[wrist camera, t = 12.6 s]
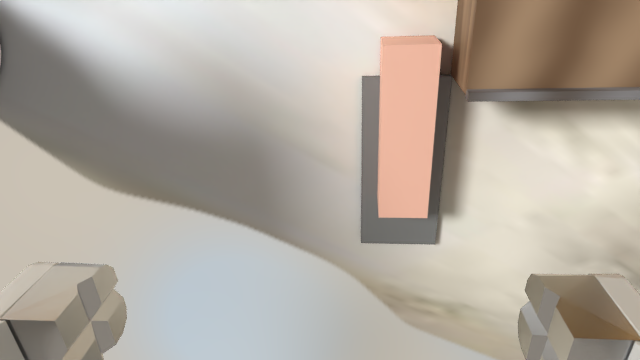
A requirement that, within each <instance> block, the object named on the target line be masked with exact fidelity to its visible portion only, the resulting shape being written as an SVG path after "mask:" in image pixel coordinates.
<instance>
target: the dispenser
mask: <svg viewBox="0 0 640 360" xmlns="http://www.w3.org/2000/svg"><path fill="white" fill-rule="evenodd" d="M451 76H452V77H453V78H454V80H455V81H456V82H457V84H458V85H459V87H460V88H461V89H462V91H463V92H464V93H465V95H466V99H467V101H468V102H470V101H561V100H640V0H458V6H457V16H456V26H455V36H454V46H453V57H452V67H451Z"/></svg>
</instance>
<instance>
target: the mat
mask: <svg viewBox="0 0 640 360" xmlns="http://www.w3.org/2000/svg"><path fill="white" fill-rule="evenodd" d="M451 82H452V76H451V75H439V86H438V98H437V109H436V121H435V133H434V145H433V157H432V168H431V180H430V192H429V204H428V216H427V218H379V215H378V199H377V191H378V146H379V101H380V76H362V189H361V243H390V244H435V241H436V231H437V221H438V211H439V201H440V191H441V181H442V171H443V161H444V152H445V142H446V132H447V122H448V112H449V102H450V92H451Z"/></svg>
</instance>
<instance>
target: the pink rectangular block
mask: <svg viewBox="0 0 640 360" xmlns="http://www.w3.org/2000/svg"><path fill="white" fill-rule="evenodd" d="M441 50H442V43H441V42H440V41H439V40H438V39H437V38H436V37H435V35H433V36H398V37H381V55H380V101H379V146H378V191H377V199H378V215H379V218H427V216H428V204H429V192H430V180H431V168H432V157H433V145H434V133H435V121H436V109H437V98H438V86H439V74H440V62H441Z"/></svg>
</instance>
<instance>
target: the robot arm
mask: <svg viewBox="0 0 640 360" xmlns="http://www.w3.org/2000/svg"><path fill="white" fill-rule="evenodd" d="M0 66H1V46H0ZM117 282H118V279H117V277H116V274H115V271H114V268H113V267H111V266H109V265H106V264H105V265H104V264H83V263H54V262H37V263H33V264H30V265H28V267H26V268H25V269H24V270H23V271H22V272H21V273H20V274H19V275H18V276H17V277H16V278H14V279H13V280H12V281H11V282H10V283H9V284H8V285H7V286H6V287H5V288H4V289H3V290H2V291H1V292H0V360H104V358H103V353H104V352H106V351H107V350H109V349H110V348H112V347H113V346H115V345H116V344H117V342H118V340H119V338H120V337H121V335H122V334H123V331H124V327H125V323H126V319H127V314H126V313H127V312H126V304H125V301H124V298H123V297H122V296H121V295H120V294H119V293H118V292H116V291H115V290H114V287H115V285H116V283H117ZM525 292H526V294H527V296H528V298H529V300H530V301H529V302H528V303H527V304H526V305H525V306H523V307H522V308H521V309H520V314H519V320H518V334H519V341H520V345H521V349H522V351H523V354H524V356H525V359H526V360H640V294H639V293H638V292H637V291H636V290H635V288H634V287H633V286H632V285H631V284H630V283H629V281H628V280H627V279H626V278H625V277H623V276H621V275H619V274H588V275H573V274H531V275H530V277H529V278H528V280H527V284H526V288H525Z"/></svg>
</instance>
